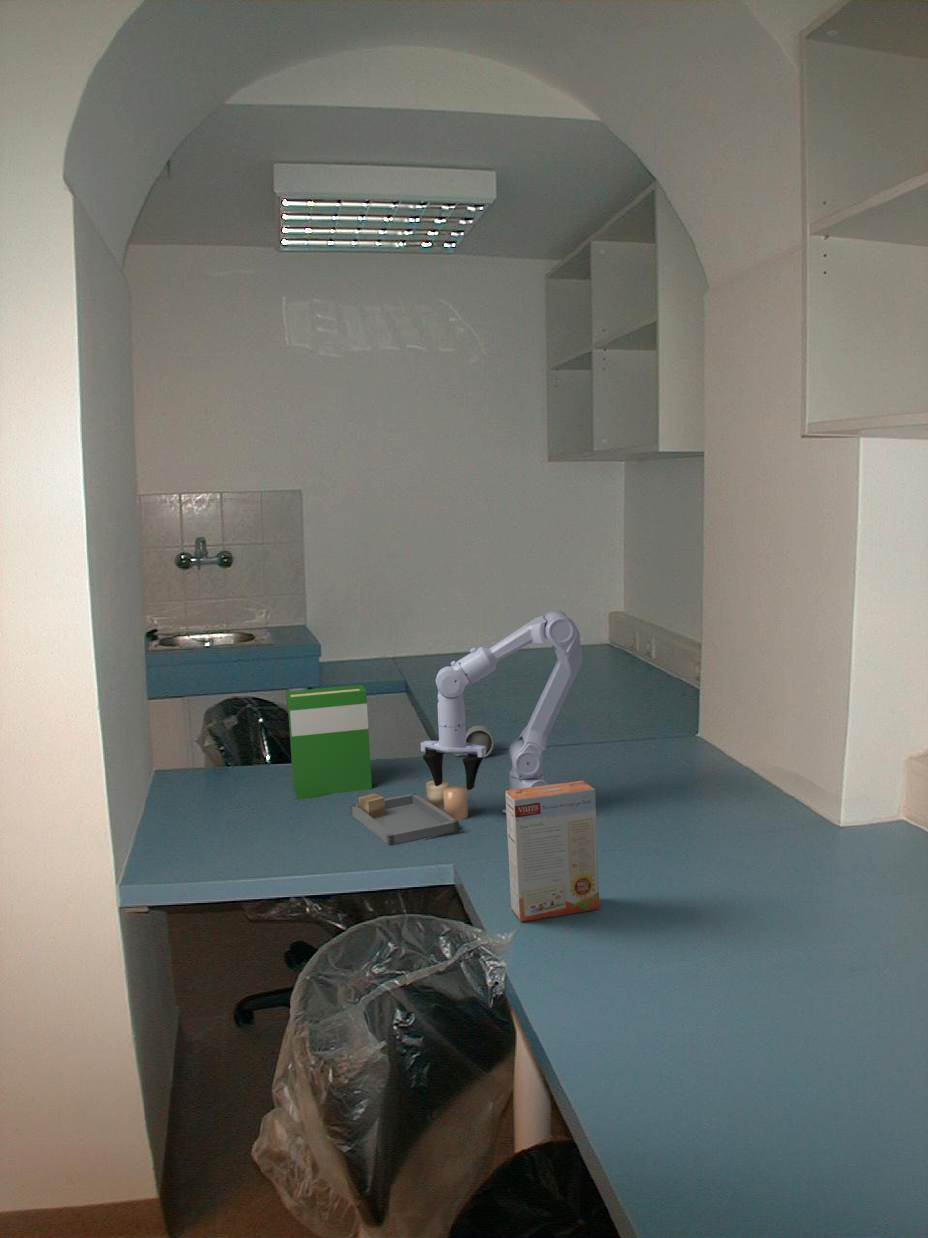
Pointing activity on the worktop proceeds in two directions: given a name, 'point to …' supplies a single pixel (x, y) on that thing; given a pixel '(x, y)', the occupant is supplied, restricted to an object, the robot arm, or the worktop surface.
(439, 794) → the beige oval piece
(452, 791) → the tan rounded cylinder
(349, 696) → the hardback book
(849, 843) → the worktop surface
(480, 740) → the ceramic mug
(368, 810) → the oak cube
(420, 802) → the tray
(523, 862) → the cracker box
